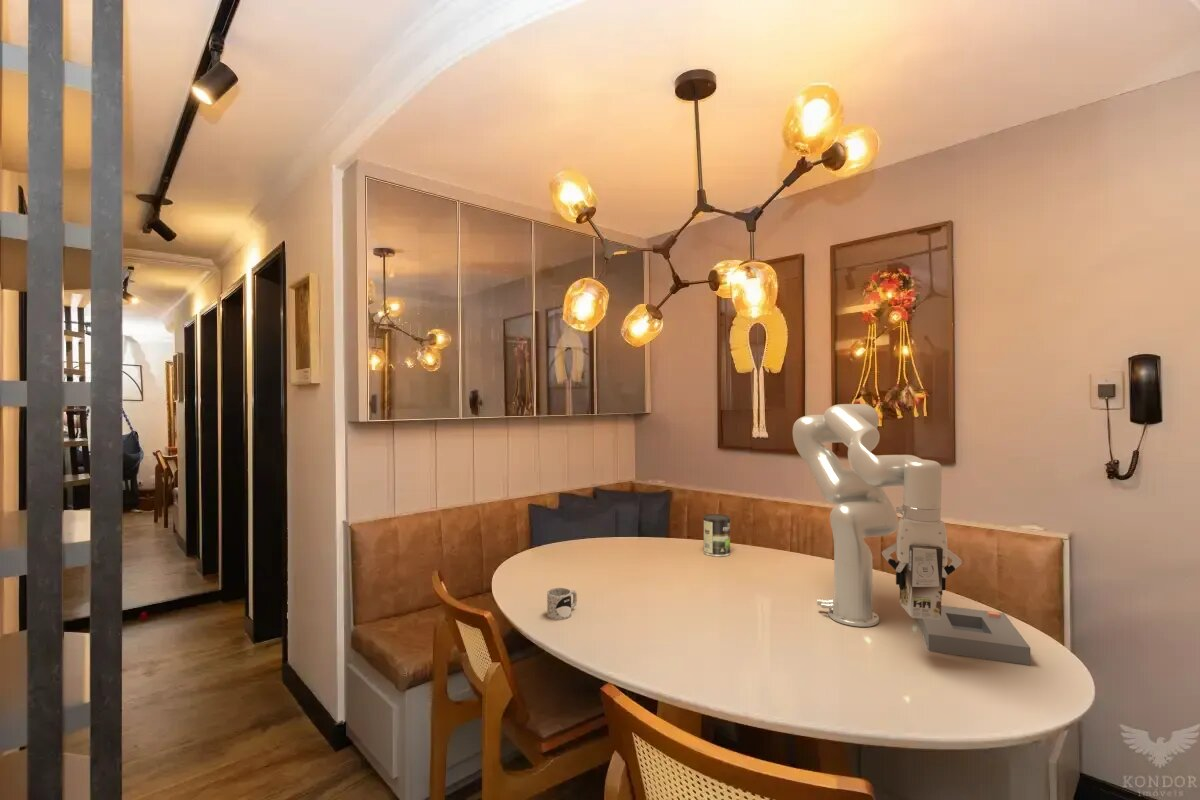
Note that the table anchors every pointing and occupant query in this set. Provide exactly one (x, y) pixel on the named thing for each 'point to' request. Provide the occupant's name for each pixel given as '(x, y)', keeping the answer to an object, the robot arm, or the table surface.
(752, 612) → the table surface
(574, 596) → the mug
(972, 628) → the socket
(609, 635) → the table surface
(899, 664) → the table surface
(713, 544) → the coffee can
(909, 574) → the coffee box
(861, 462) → the robot arm
